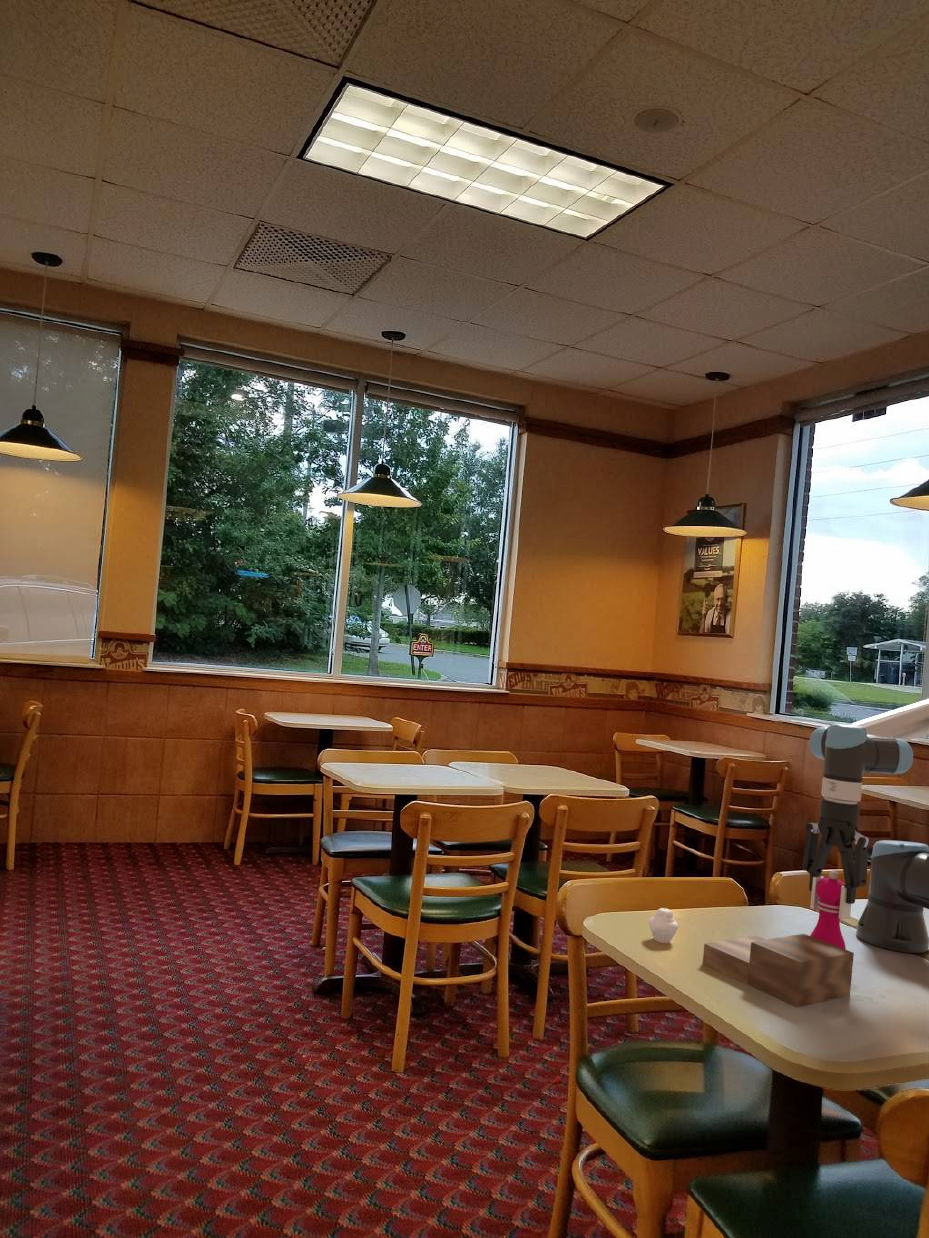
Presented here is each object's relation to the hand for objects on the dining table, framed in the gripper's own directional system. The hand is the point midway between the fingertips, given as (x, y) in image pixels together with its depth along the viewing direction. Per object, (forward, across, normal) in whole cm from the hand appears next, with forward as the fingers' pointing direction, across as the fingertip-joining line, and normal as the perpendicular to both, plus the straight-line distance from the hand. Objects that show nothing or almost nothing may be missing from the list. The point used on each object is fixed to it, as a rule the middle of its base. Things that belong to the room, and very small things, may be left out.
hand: (829, 913), depth 187 cm
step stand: (+11, 0, -16) cm, 20 cm away
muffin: (+12, -24, -22) cm, 35 cm away
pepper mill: (+12, 0, 0) cm, 12 cm away
